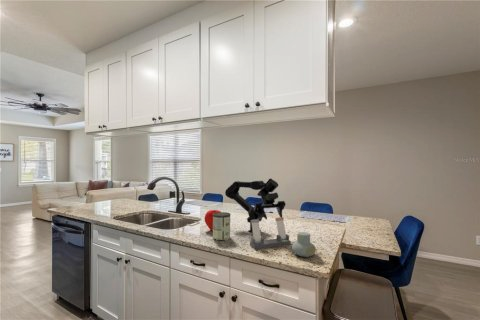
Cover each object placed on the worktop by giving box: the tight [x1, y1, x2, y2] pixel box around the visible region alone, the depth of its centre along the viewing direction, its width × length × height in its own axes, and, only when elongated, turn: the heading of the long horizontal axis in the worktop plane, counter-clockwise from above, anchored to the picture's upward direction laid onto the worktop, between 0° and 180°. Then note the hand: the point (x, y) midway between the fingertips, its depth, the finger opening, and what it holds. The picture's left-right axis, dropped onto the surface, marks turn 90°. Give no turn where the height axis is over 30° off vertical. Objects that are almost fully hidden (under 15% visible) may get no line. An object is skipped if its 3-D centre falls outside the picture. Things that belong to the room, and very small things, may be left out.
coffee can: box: [212, 211, 232, 241], centre depth 138 cm, size 10×10×14 cm
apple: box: [204, 209, 222, 231], centre depth 155 cm, size 12×12×13 cm
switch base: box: [249, 233, 292, 250], centre depth 126 cm, size 6×21×4 cm, turn 110°
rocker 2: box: [275, 216, 287, 239], centre depth 130 cm, size 2×4×11 cm, turn 110°
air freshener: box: [291, 231, 317, 258], centre depth 112 cm, size 11×8×10 cm
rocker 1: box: [251, 219, 262, 242], centre depth 125 cm, size 2×4×11 cm, turn 110°
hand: (274, 218), depth 135 cm, fingers open, 9 cm apart
